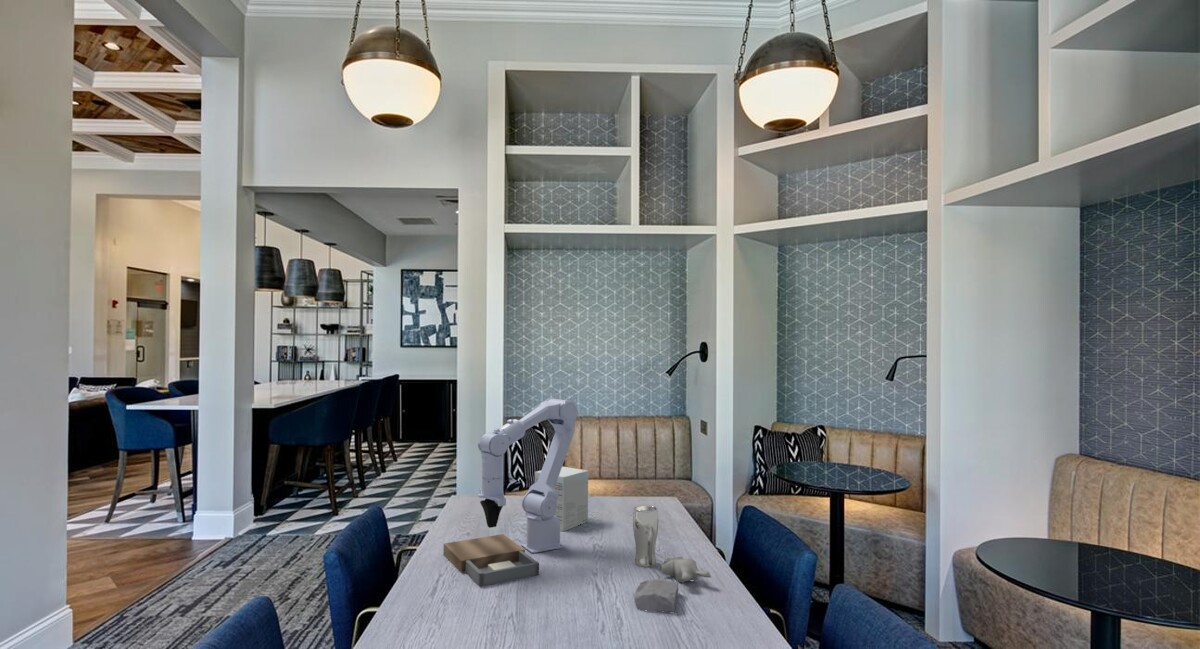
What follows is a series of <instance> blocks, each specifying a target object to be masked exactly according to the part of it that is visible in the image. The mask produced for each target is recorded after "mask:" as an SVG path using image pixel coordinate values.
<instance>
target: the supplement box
mask: <svg viewBox="0 0 1200 649" xmlns="http://www.w3.org/2000/svg"><path fill="white" fill-rule="evenodd" d="M540 473H541V470H538V471H537V470H536V471H534V483H536V482H537V481H538V478H539V476H540ZM555 489H556V491H557V493H558V499H557V509H556V512H555V514H554V515H556V516H557V517H558V519H559V522H560V532H565V531H568V530H570V529H573V528H576V527H579V526H581V525H584V524H586V523H585V522H587V523H588V522H589V470H587V469H581V468H573V467H567V466H562V468H561V471H560V474H559V477H558V480H557V483H556V485H555ZM542 495H545V494H542ZM583 523H584V524H583ZM580 524H581V525H580ZM578 525H579V526H578Z"/></svg>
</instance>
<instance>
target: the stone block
mask: <svg viewBox="0 0 1200 649" xmlns="http://www.w3.org/2000/svg"><path fill="white" fill-rule="evenodd" d="M678 592H679V581H670V580H666V579H662V578H661V579H659V578H654V579H650V580H648V579H647V580H643V581H641V582H640V583H639V585H638V586H637V587H636V590H635V592H634V593H633V597H634V603H636V604H635V605H636V607H637V609H638V610H639V609H640V610H639V611H642V610H647V611H646V612H648V611H664V612H665V613H669V612H674V613H675V611H676V607H675V606H677V601H678V600H677V599H678V595H679V594H678ZM664 612H663V613H664Z"/></svg>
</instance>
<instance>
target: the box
mask: <svg viewBox="0 0 1200 649" xmlns="http://www.w3.org/2000/svg"><path fill="white" fill-rule="evenodd" d="M512 563H513V564H514V565H515V566H514V567H509V568H503V569H498V570H493V571H488V567H484V568H477V567H476V566H475V565H474V564H473V563H472V562H471V561H470V560H467V561H466V571H465V572H464V573H465V574H467V576H469V578H470V579H471V580H472V581H473V582H474V583H475V584H476V585H477V586H478V587H486V586H491V585H496V584H501V583H506V582H509V581H510V582H511V581H516V580H519V579H520V580H521V579H526V578H530V577H535V576H536V577H537V576H539V575H540V562H538V561H536V559H534V558H533V557H531V556H530V555H528V554H527V553H526V552H525V553H524V552H523V551H519V561H516V562H512Z"/></svg>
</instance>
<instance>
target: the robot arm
mask: <svg viewBox="0 0 1200 649" xmlns="http://www.w3.org/2000/svg"><path fill="white" fill-rule="evenodd" d="M578 415H579V410H578V408H577V405H576V403H575V402H574V401H573V400H570V399H560V398H559V399H558V398H553V397H550V398H547V399H545V400H544V401H542V402H541V403H540V404H539V405H538V406H537V407H536V408H534V409H533V410H532V411H530V412H528V414H526V415H524V416H523V417H522V418H520V419H519V420H518V419H517V418H516V419H515V418H513V419H508V420H506V423H505V424H504V425H502V426H499V428H498V427H497V428H494V430H493V432H486V433H485V434H483V435H482V436H481V438H480V439H479V442H478V443H477V447H478V450H479V451H480V453H481V459H482V460H481V463H482V464H481V487H480V488H479V493H478V494H477V497H478V498H479V499H484V500H480V502H479V503H480V505H481V507H482V509H483V512H484V517H485V519H486V525H487V527H488V528H496V527H497V526H498V522H499V519H500V518H499V517H500V515H501V511H502V509H503V507H505V506H507V498H506V497H505V495H504V491H503V490H504V488H503V487H504V454H505V453H506V452H507V450H508V448H509V447H510V446H511V445H512V444H515V443H516V442H517V441H518V440H521V439H522V438H523V437H524V436H525V435H526V431H527V430H528V429H530V428H532V427H534V426H535V425H536V426H537V424H539V423H541V422H543V421H544V420H547V421H548V422H549V424H550V425H551V426H552V428H553V430H554V434H553V435H554V436H553V438H552V441H551V443H550V446H549V449H548V452H547V453H546V458H545V460H544V463H543V465H542V468H541V470H540V471H541V473H540V476H539V478H538V481H537V482H536V483H535V482H534V483H533V484H532V485H530V486H529V488H528V491H527V492H526V494H525V495H523V498H522V501H521V507H522V509H523V511H524V512H525V516H526V543H525V542H523V543H521V546H520V547H522V548H523V549H525V550H527V551H528V552H529V553H531V554H535V553H541V552H545V551H547V552H548V551H552V550H558V549H562V546H561V531H560V522H559V519H558V517H557V516H556V515H554V514H555V512H556V509H557V499H558V493H557V491H556V489H555V485H556V483H557V480H558V477H559V474H560V471H561V468H562V467H564V462H565V460H566V457H567V454H568V452H569V448H570V445H571V443H572V440H573V437H574V434H575V430H576V429H575V428H576V420H577V417H578ZM542 494H545V495H542Z"/></svg>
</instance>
